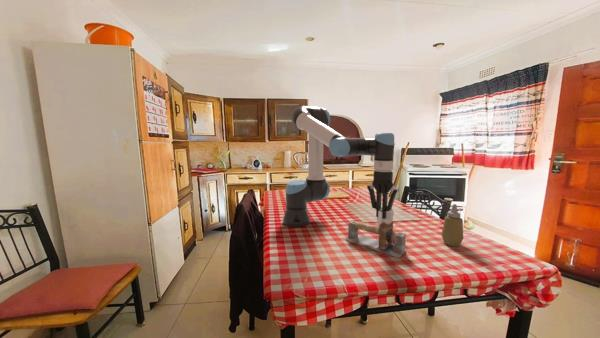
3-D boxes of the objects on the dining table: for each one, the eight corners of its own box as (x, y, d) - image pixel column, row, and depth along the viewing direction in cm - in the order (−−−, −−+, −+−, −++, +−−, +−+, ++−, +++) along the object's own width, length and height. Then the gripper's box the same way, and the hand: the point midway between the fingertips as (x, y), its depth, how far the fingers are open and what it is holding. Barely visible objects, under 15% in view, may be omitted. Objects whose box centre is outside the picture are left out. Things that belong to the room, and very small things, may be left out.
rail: (345, 240, 104) (346, 222, 102) (354, 234, 109) (354, 218, 108) (399, 258, 88) (400, 237, 87) (406, 250, 93) (407, 231, 92)
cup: (394, 237, 107) (395, 212, 105) (376, 235, 109) (377, 211, 107) (391, 230, 115) (392, 207, 113) (374, 229, 116) (375, 206, 115)
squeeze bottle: (459, 241, 102) (462, 202, 100) (465, 249, 94) (469, 208, 92) (438, 238, 105) (441, 201, 102) (443, 246, 97) (446, 206, 95)
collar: (378, 248, 93) (379, 224, 92) (386, 241, 99) (387, 219, 98) (384, 250, 91) (385, 226, 90) (392, 243, 97) (393, 221, 96)
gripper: (364, 170, 94) (362, 224, 97) (396, 173, 86) (393, 232, 89) (372, 168, 100) (370, 219, 103) (402, 171, 91) (399, 226, 94)
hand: (380, 225), depth 96 cm, fingers closed
